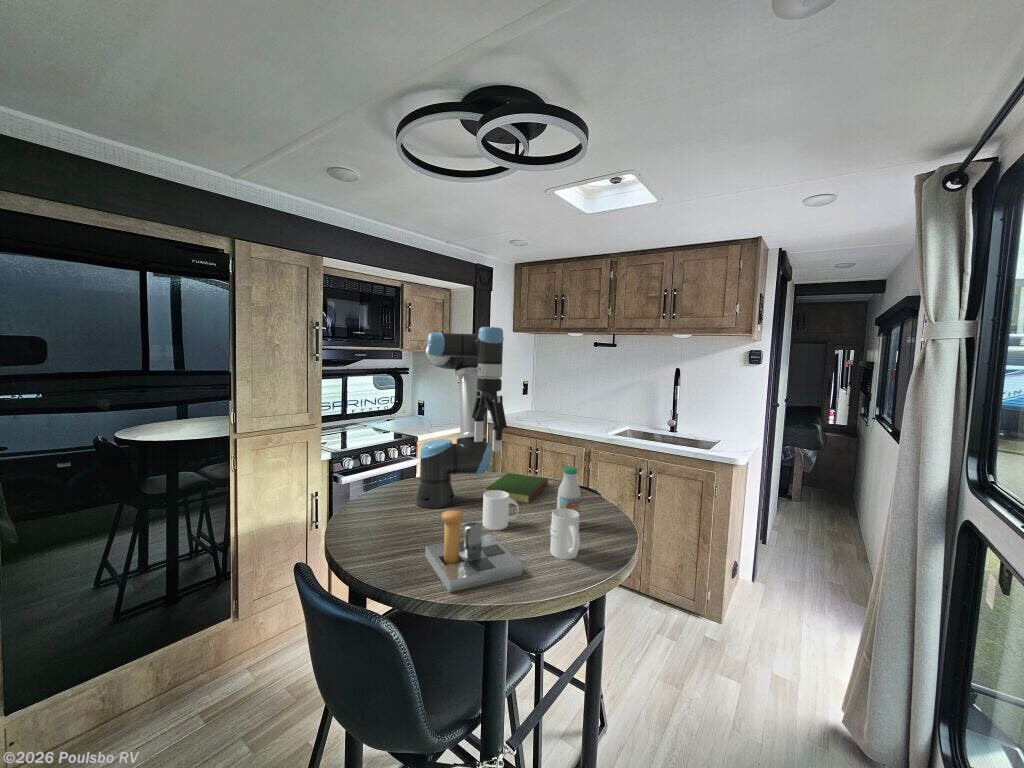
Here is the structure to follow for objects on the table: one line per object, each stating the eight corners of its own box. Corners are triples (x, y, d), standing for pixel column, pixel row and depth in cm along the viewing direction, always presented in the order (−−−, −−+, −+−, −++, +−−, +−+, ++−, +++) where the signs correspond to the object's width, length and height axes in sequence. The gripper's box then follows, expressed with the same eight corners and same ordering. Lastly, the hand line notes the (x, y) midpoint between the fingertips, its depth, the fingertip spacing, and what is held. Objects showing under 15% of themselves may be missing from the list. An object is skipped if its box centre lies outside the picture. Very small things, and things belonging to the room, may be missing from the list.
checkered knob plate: (425, 556, 122) (426, 518, 121) (489, 543, 132) (491, 508, 131) (449, 592, 105) (450, 548, 104) (521, 574, 114) (523, 534, 113)
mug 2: (563, 568, 119) (565, 525, 118) (545, 548, 130) (546, 509, 129) (589, 563, 121) (591, 522, 120) (569, 545, 133) (571, 507, 132)
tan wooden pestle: (437, 567, 117) (438, 512, 115) (457, 563, 119) (458, 509, 118) (444, 577, 112) (445, 519, 110) (464, 572, 114) (466, 516, 113)
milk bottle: (551, 525, 147) (554, 467, 146) (565, 519, 153) (567, 463, 151) (570, 532, 142) (573, 472, 140) (583, 525, 148) (586, 468, 146)
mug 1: (519, 530, 142) (521, 498, 141) (483, 531, 141) (484, 498, 140) (516, 520, 151) (517, 490, 150) (481, 520, 149) (482, 490, 148)
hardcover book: (529, 504, 168) (530, 495, 167) (485, 497, 174) (485, 488, 174) (548, 486, 191) (548, 478, 191) (508, 480, 198) (508, 472, 197)
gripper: (463, 374, 143) (461, 438, 144) (496, 381, 121) (493, 456, 122) (484, 375, 146) (482, 437, 148) (519, 381, 124) (517, 454, 126)
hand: (487, 446), depth 135 cm, fingers open, 13 cm apart
